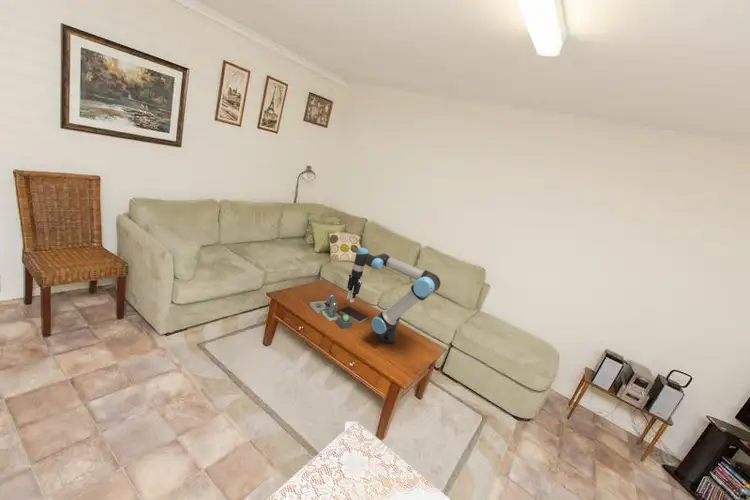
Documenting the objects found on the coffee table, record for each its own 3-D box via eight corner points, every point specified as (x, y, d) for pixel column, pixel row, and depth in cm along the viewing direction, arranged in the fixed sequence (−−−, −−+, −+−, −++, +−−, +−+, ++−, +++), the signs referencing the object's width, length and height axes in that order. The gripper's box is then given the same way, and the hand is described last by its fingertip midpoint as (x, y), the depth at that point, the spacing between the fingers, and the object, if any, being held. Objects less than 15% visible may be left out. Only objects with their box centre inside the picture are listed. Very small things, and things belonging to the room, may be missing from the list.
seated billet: (332, 309, 270) (336, 295, 267) (327, 309, 267) (330, 295, 264) (329, 306, 274) (332, 292, 270) (323, 306, 270) (327, 292, 267)
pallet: (337, 311, 269) (337, 307, 268) (316, 313, 257) (317, 309, 257) (329, 303, 277) (330, 300, 277) (309, 305, 266) (310, 302, 265)
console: (351, 328, 250) (352, 322, 248) (341, 329, 245) (343, 323, 243) (345, 322, 256) (346, 316, 254) (336, 323, 251) (337, 317, 249)
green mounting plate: (340, 319, 257) (340, 317, 257) (328, 321, 251) (329, 318, 250) (332, 312, 265) (333, 309, 265) (321, 313, 259) (321, 311, 258)
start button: (348, 323, 249) (349, 317, 248) (343, 324, 247) (345, 317, 245) (345, 320, 252) (346, 314, 251) (340, 321, 250) (342, 314, 248)
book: (347, 309, 278) (348, 305, 277) (367, 319, 270) (368, 315, 269) (338, 313, 267) (339, 309, 266) (359, 324, 259) (360, 320, 258)
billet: (335, 317, 258) (339, 303, 254) (329, 318, 255) (333, 303, 251) (332, 314, 261) (335, 299, 258) (326, 314, 258) (329, 300, 255)
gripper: (369, 274, 235) (360, 305, 241) (355, 264, 246) (348, 294, 253) (360, 275, 230) (352, 306, 236) (347, 265, 242) (339, 295, 248)
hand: (350, 300), depth 245 cm, fingers open, 3 cm apart
